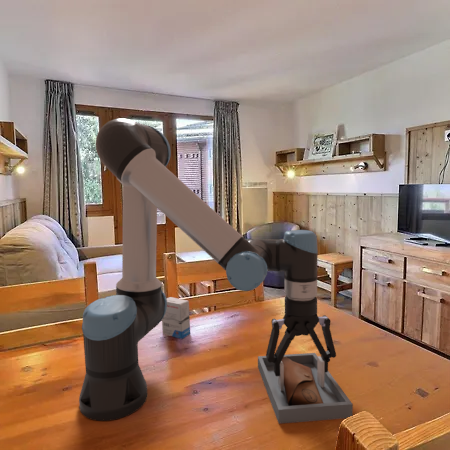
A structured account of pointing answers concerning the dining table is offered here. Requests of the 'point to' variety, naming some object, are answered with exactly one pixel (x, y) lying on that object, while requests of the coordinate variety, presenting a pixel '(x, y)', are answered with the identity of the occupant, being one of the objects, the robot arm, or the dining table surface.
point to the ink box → (176, 318)
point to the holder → (330, 408)
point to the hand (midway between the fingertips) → (300, 385)
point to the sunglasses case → (299, 384)
